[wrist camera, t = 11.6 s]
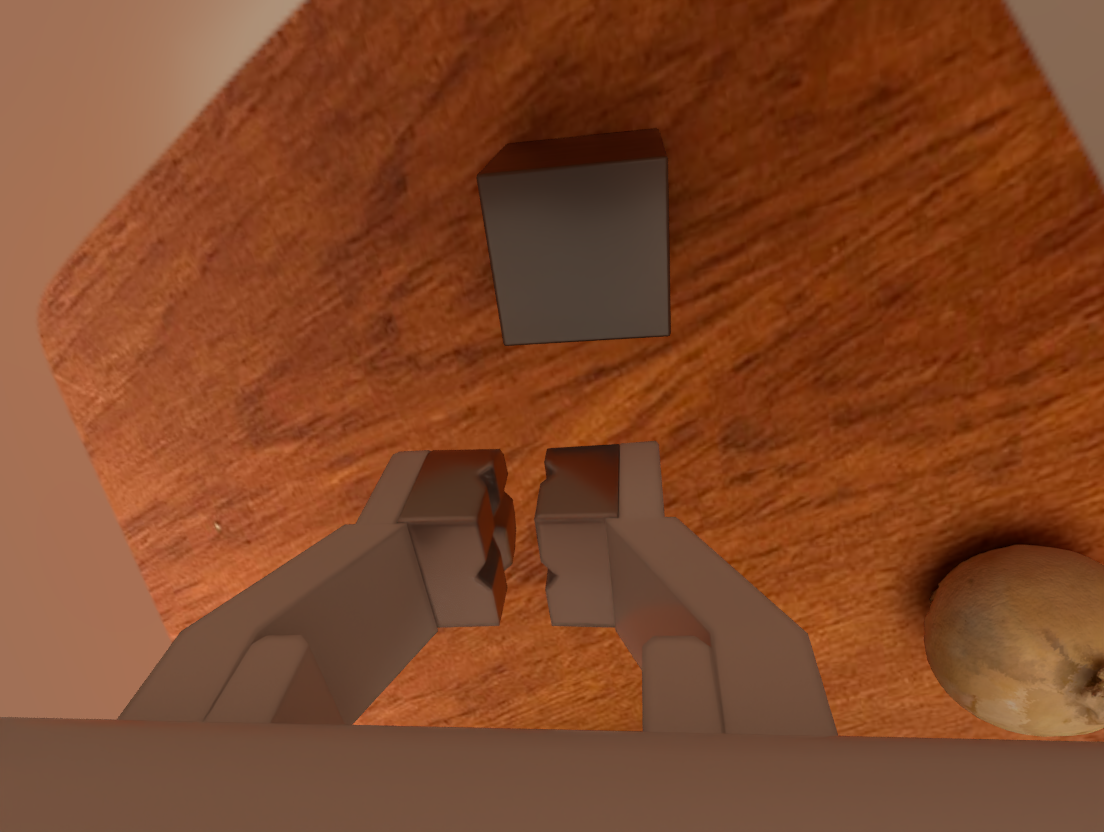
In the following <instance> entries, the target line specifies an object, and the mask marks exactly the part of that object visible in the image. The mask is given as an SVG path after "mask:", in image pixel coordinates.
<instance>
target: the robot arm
mask: <svg viewBox="0 0 1104 832" xmlns="http://www.w3.org/2000/svg"><path fill="white" fill-rule="evenodd" d="M544 463H545V470H546V478H547V479H546V480H544V481H543V482H542V483H541V484H540V489H539V495H538V501H537V507H536V513H535V518H534V520H535V526H536V533H537V539H538V546H539V552H540V559H541V562H542V563H543V564H544V565H545V566H546V567H547V568H548V573H547V581H546V589H545V590H546V595H547V601H548V607H549V612H550V618H551V623H552V626H579V627H615V628H616V632H617V633H618V635H619V636H620V638H621V639H622V641H623V642H624V644H625V645H626V647H627V648H628V650H629V651H630V653H631V654H632V656H633V658H634V659H635V661H636V662H637V664H638V665H639V667H640V668H641V670H642V699H643V732H642V731H599V730H555V729H511V728H466V727H421V726H376V725H352V724H353V723H354V722H355V721H356V720H357V719H358V718H359V717H360V716H361V715H362V713H363V712H364V711H365V710H366V709H367V708H368V707H369V706H370V705H371V704H372V703H373V701H374V700H375V699H376V698H377V697H378V696H379V695H380V694H381V693H382V692H383V690H384V689H385V688H386V687H387V686H388V685H389V684H390V683H391V682H392V681H393V680H394V678H395V677H396V676H397V675H398V674H399V673H400V672H401V671H402V670H403V669H404V668H405V666H406V665H407V664H408V663H409V662H410V661H411V660H412V659H413V658H414V657H415V655H416V654H417V653H418V652H419V651H420V650H421V649H422V648H423V647H424V646H425V645H426V643H427V642H428V641H429V640H430V639H431V638H432V637H433V636H434V635H435V634H436V633H437V631H438V629H437V627H472V626H499V625H500V620H501V616H502V611H503V606H504V602H505V597H506V592H507V583H506V578H505V573H504V571H505V570H506V569H507V568H508V567H509V566H510V565H512V563H513V557H514V552H515V541H516V521H515V511H514V505H513V499H512V498H511V497H510V496H509V495H508V494H507V493H505V492H504V488H505V484H506V480H507V476H508V472H507V467H506V462H505V458H504V454H503V453H502V451H501V450H500V449H480V450H433V451H429V450H424V451H403V452H398V453H396V454H393V456H392V457H391V459H390V461H389V463H388V464H387V466H386V468H385V470H384V472H383V474H382V476H381V477H380V479H379V481H378V483H377V485H376V487H375V489H374V490H373V492H372V494H371V496H370V498H369V500H368V502H367V503H366V505H365V507H364V509H363V511H362V513H361V515H360V516H359V518H358V520H357V522H356V524H349V525H344V526H342V527H340V528H339V529H337V530H336V531H334V532H333V533H331V534H330V535H328V536H327V537H325V538H324V539H322V540H321V541H319V542H317V543H316V544H314V545H313V546H311V547H310V548H308V549H307V550H305V551H304V552H302V553H301V554H299V555H298V556H296V557H294V558H293V559H291V560H290V561H288V562H287V563H285V564H284V565H282V566H281V567H279V568H278V569H276V570H275V571H273V572H271V573H270V574H268V575H267V576H265V577H264V578H262V579H261V580H259V581H258V582H256V583H255V584H253V585H252V586H250V587H248V588H247V589H245V590H244V591H242V592H241V593H239V594H238V595H236V596H235V597H233V598H232V599H230V600H229V601H227V602H225V603H224V604H222V605H221V606H219V607H218V608H216V609H215V610H213V611H212V612H210V613H209V614H207V615H206V616H204V617H202V618H201V619H199V620H198V621H196V622H195V623H193V624H192V625H190V626H189V627H187V628H186V629H184V630H183V631H181V632H180V633H179V635H178V636H177V638H176V639H175V640H174V642H173V643H172V644H171V646H170V647H169V649H168V650H167V651H166V653H165V654H164V656H163V657H162V658H161V660H160V661H159V663H158V664H157V665H156V666H155V668H154V669H153V671H152V672H151V673H150V675H149V676H148V678H147V679H146V680H145V682H144V683H143V684H142V686H141V687H140V688H139V690H138V691H137V693H136V694H135V695H134V697H133V698H132V699H131V701H130V702H129V704H128V705H127V706H126V708H125V709H124V710H123V712H122V713H121V715H120V716H119V717H118V719H117V720H107V719H104V720H103V719H63V718H60V719H59V718H18V717H17V718H16V717H15V718H14V717H0V832H1104V742H1086V741H1041V740H996V739H952V738H907V737H862V736H838V734H837V730H836V727H835V724H834V720H833V717H832V713H831V710H830V707H829V703H828V700H827V697H826V693H825V690H824V687H823V683H822V680H821V677H820V673H819V670H818V667H817V663H816V660H815V656H814V653H813V650H812V646H811V643H810V640H809V636H808V634H807V633H806V632H805V631H804V630H803V629H802V628H801V627H800V626H798V625H797V624H796V623H795V622H794V621H793V620H792V619H790V618H789V617H788V616H787V615H786V614H785V613H784V612H783V611H781V610H780V609H779V608H778V607H777V606H776V605H775V604H774V603H772V602H771V601H770V600H769V599H768V598H767V597H766V596H764V595H763V594H762V593H761V592H760V591H759V590H758V589H757V588H755V587H754V586H753V585H752V584H751V583H750V582H749V581H748V580H746V579H745V578H744V577H743V576H742V575H741V574H740V573H739V572H737V571H736V570H735V569H734V568H733V567H732V566H731V565H729V564H728V563H727V562H726V561H725V560H724V559H723V558H722V557H720V556H719V555H718V554H717V553H716V552H715V551H714V550H713V549H711V548H710V547H709V546H708V545H707V544H706V543H705V542H703V541H702V540H701V539H700V538H699V537H698V536H697V535H696V534H694V533H693V532H692V531H691V530H690V529H689V528H688V527H687V526H685V525H684V524H683V523H682V522H681V521H680V520H679V519H677V518H676V517H664V504H663V492H662V480H661V468H660V455H659V444H658V443H657V442H656V441H648V442H634V443H621V444H620V445H619V444H612V445H595V446H579V447H562V448H548V449H547V451H546V456H545V461H544Z"/></svg>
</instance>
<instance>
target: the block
mask: <svg viewBox="0 0 1104 832" xmlns="http://www.w3.org/2000/svg"><path fill="white" fill-rule="evenodd" d="M477 184H478V190H479V196H480V202H481V208H482V215H483V221H484V227H485V233H486V239H487V245H488V252H489V258H490V264H491V270H492V276H493V282H494V289H495V295H496V301H497V307H498V313H499V319H500V326H501V332H502V338H503V343H504V345H505V346H512V345H529V344H546V343H562V342H579V341H596V340H612V339H629V338H646V337H663V336H670V334H671V311H670V247H669V183H668V157H667V154H666V151H665V147H664V144H663V141H662V138H661V135H660V132H659V129H657V128H654V129H645V130H635V131H625V132H616V133H606V134H597V135H587V136H577V137H568V138H558V139H548V140H539V141H529V142H520V143H510V144H506V145H505V146H504V147H503V148H502V149H501V150H500V151H499V152H498V153H497V154H496V155H495V157H494V158H493V159H492V160H491V161H490V162H489V163H488V164H487V165H486V166H485V167H484V168H483V169H482V170H481V171H480V172H479V173H478V175H477Z"/></svg>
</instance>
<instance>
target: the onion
mask: <svg viewBox="0 0 1104 832" xmlns="http://www.w3.org/2000/svg"><path fill="white" fill-rule="evenodd" d="M938 586H939V588H938V589H936V590H935V591H934V592H933V591H932V592H933V594H932V596H931V598H930V603H931V606H930V608H929V611H928V614H927V616H926V617H925V620H924V630H925V635H924V643H925V649H926V655H927V660H928V662H929V664H930V666H931V669H932V671H933V673H934V675H935V677H936V678H937V680H938V681H939V683H940V684H941V686H942V687H943V688H944V689H945V691H946V692H947V693H948V694H949V695H950V696H951V697H952V698H953V699H954V700H955V701H956V702H957V703H958V704H959V705H961V706H962V707H963V708H965V709H966V710H968V711H969V712H971V713H972V714H974V715H975V716H976V717H978V718H980V719H982V720H984V721H986V722H988V723H990V724H993V725H995V726H997V727H1000V728H1002V729H1005V730H1008V731H1011V732H1016V733H1021V734H1027V735H1034V736H1044V737H1046V736H1049V737H1050V736H1072V735H1081V734H1088V733H1091V732H1095V731H1098V730H1100V729H1103V728H1104V565H1102V564H1100V563H1098V562H1096V561H1095V560H1093V559H1091V558H1089V557H1086V556H1084V555H1082V554H1080V553H1076V552H1073V551H1069V550H1064V549H1060V548H1053V547H1044V546H1037V545H1011V546H1008V547H1003V548H999V549H995V550H991V551H987V552H985V553H983V554H981V553H980V554H978V555H976V556H974V557H971V558H970V559H968V560H967V561H964V562H961V563H960V564H959V565H958V566H957V567H955V568H954V569H952V570H951V572H950V573H949V574H948V575H947V576H946V577H945V578H944V579H943V580H942V581H941V582H940V583H938ZM932 592H931V593H932ZM931 600H932V601H931Z"/></svg>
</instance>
